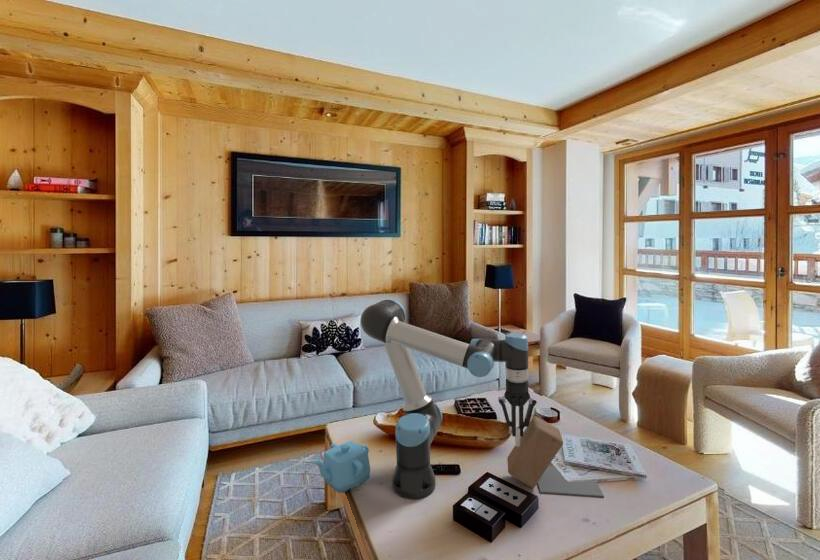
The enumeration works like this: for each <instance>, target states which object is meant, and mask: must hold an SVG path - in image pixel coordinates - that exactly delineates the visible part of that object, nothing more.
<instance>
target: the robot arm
mask: <svg viewBox="0 0 820 560" xmlns="http://www.w3.org/2000/svg"><path fill="white" fill-rule="evenodd" d="M405 320H406V310H405V307H404V306H403V304H402V303H400V302H399V301H397V300H396V299H395V300H394V299H384V300H381V301H378V302H376V303H374V304H370V305H369V306H367V307H366V308H365V309H364V310H363V311H362V314H361V316H360V326H361V329H362V331H363V332H364V333H365V334H366V335H367V336H368V337H370V338H371V339H374V340H376V341H378V342H381V343H382V344H383V345H384V348H385V350H386V354H387V355H388V356H387V357H388V359H389V361H390V364H391V366H392V370H393V372H394V375H395V378H396V381H397V384H398V386H399V389H400V392H401V394H402V398H403V401H404V405H403V408H402V410H403V412H404V415H403V416H401V417H400V418H398V420H397V421H396V425H395V431H394V435H395V436H394V437H395V449H396V450H395V451H396V452H395V453H396V455H395V457H396V465H395V468H394V472H393V475H392V479H391V488H392V490H393V491H394V493H395V494H396V495H397V496H399V497H402V498H404V499H409V500H417V499H422V498H426V497H428V496H429V495H431V494H432V493H433V492H434V491H435V489H436V486H437V485H436V484H437V481H436V475H435V473H434V470H433V468H432V465H431V444H432V442H433V441H434V439H435V437H436V435H437V434H438V431H439V430H440V429H441V426H442V422H443V412H442V409H441V408H440V406H439V405H438V404H437V403H435V402H434V400H433V398H432V396H430V395H428V394H427V393H426V389H425V386H424V384H423V382H422V378H421V375H420V373H419V370H418V367H417V365H416V362H415V359H414V357H413V353H412V351H411V350H414V351H416V352H419V353H422V354H425V355H427V356H431V357H433V358H435V359H439V360H442V361H444V362H448V363H450V364H454V365H457V366H460V367H461V368H462V367H463V368H465V369H467V370H468V372H469V373H470V374H471V375H473V377H476V378H483V377H487V376H488V375H489V374H490V373H491V371H492V370H493V369H494V365H495V364H494V363H495V362H497V363H505V378H506V379H505V392H504V394H503V395H502V396H499V397H498V398H497V399H498V403H499V404H500V406H501V407H502V412H503V415H504V418H505V419H504V420H505V423H506V426H507V427H511V434H512V437H514V446H515V445H516V447H520V437H523V432H524V430H525V427H526V428H527V427H528V426H529V423H530V421H531V420H532V414H533V411H534V408H535V406H536V405H537V399H536V398H535V397H532V396H531V395H530V393H529V339H528V337H527V336H526V335H525V334H522V333H507V334H506V335H505V337H504V339H490V338H488V339H487V338H481V337H480V338H472V339H471V340H470V342H469V343H466V342H463V341H460V340H457V339H454V338H451V337H448V336H446V335H442V334H439V333H437V332H433V331H430V330H428V329H424V328H422V327H418V326H416V325H412V324H410V323H406V322H405ZM507 402H508V404H510V408H511V410H510V412H511V416H510V417H511V420H510V417H509V413H508V410H507V406H506V403H507ZM527 403H528V406H527V409H526V413H525V417H524V408H525V407H524V406H525V405H526V404H527ZM517 407H518V424H517V414H516V413H517V412H516V409H517Z"/></svg>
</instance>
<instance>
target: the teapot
mask: <svg viewBox="0 0 820 560" xmlns="http://www.w3.org/2000/svg"><path fill="white" fill-rule="evenodd" d="M329 447H330V448H329V449H328V450H326V451H324V452H323V459H322V460H314V461H312V462H311V464H313V465H316V466H318V468H319V469H318V470H319V472H320V476H321V477H322V478H323V480H324V482H325V483H326V484H328V486H329V487H330V488H332V489H333V491H335V492H337V493H338V494H340V493H346V492H347V491H348V490H351V489H353V488H355V487H356V486H359V484H360V485H362V484H363V483H364V482H366V481H367V480H369V479H370V476H371V465H370V459H369V452H370V449H369V446H368V445H367V444H358V443H357V442H356V441H354V440H349V441H346V442H344V443H340V444H337V443H331V444H330V446H329ZM362 482H363V483H362ZM361 483H362V484H361Z"/></svg>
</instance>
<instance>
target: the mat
mask: <svg viewBox="0 0 820 560" xmlns="http://www.w3.org/2000/svg"><path fill="white" fill-rule="evenodd" d="M555 467H556V466H550V465H549V466H548V467H547V469H546V470H545V472H544V473H543V475H542V476H541V478H540V479H539V481H538V482H537V487H538V490H539V493H540V494H551V495H552V494H554V495H568V496H569V495H570V496H580V497H595V498H605V495H604V493H603V492H602V490H601V488H600V486H599V484H598V482H597V481H596V479H593V480H589V481H584V482H568V481H567V480H565V479H564V478H563V476H562V475H561V473H560V472H559V471H558V470H557V469H556V468H555Z"/></svg>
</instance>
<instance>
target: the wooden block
mask: <svg viewBox="0 0 820 560" xmlns="http://www.w3.org/2000/svg"><path fill="white" fill-rule="evenodd" d="M563 445H564V440H563V438H562V435H561V432H560V429H559V428H557V427H556V426H554V425H552V424H551V423H548V422H547V421H546V420H544V419H542V418H540V417H538V416H536V415H535V416H533V417H531V419H530V423H529V426H528V427H526V428H524V430H523V437H520V447H516V445H515V444H514V447H513V448H512V449H511V451H510V453H509V454H508V456H507V473H508V474H509V475H510V476H512V477H513V478H515V479H516V480H518V481H519V482H521V483H524V484H525V485H527V486H528V487H530V488H532V489H533V488H535V487H536V485H538V483H537V482H538V481H539V479H540V478H541V476H542V475H543V473H544V472H545V470H546V469H547V467H548V466H550V465H551V463H552V461H554V458H555V457H556V455H557V454H558V452H559V451H560V450H561V448H562V446H563Z"/></svg>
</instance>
